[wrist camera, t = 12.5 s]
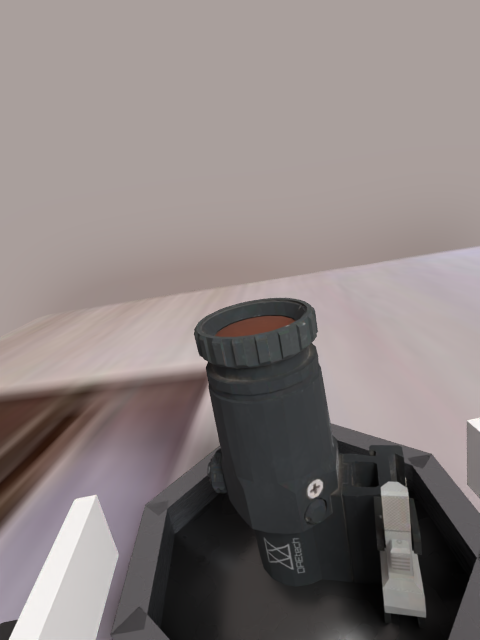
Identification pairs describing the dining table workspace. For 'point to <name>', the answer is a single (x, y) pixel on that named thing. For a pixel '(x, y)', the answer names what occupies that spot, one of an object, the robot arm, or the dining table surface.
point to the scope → (304, 460)
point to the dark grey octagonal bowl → (283, 600)
